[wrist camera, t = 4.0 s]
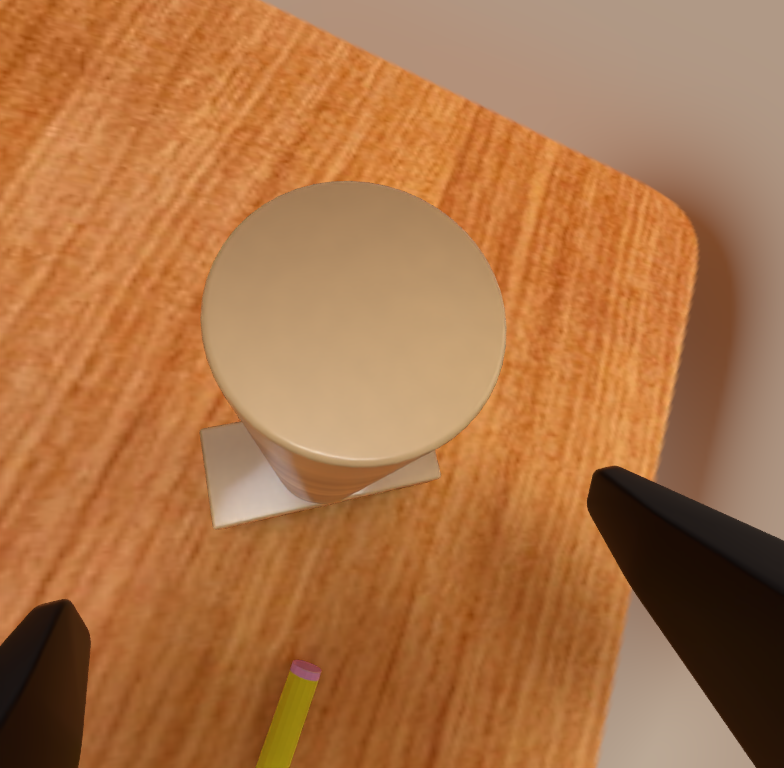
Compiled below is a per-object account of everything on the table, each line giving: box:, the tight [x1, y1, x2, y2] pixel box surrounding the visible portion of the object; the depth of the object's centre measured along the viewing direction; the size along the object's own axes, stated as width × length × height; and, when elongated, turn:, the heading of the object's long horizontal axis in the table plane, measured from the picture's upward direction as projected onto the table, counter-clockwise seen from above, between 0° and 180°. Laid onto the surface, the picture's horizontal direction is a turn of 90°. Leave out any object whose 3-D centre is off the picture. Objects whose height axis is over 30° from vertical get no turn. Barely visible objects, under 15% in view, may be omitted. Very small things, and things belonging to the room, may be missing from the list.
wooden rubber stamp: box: [200, 181, 506, 529], centre depth 11 cm, size 3×7×14 cm, turn 103°
